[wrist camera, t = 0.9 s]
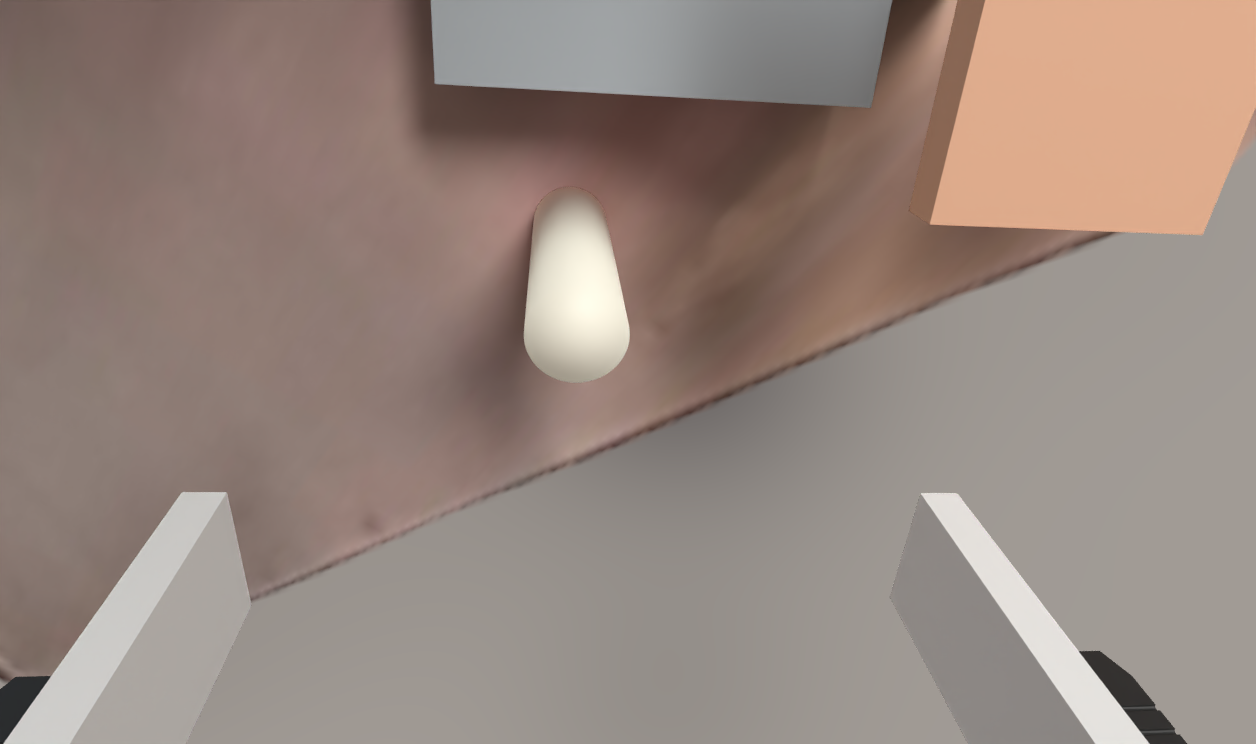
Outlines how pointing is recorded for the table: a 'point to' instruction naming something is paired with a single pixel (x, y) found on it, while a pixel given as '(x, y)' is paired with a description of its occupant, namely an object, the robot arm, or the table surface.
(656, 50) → the socket block
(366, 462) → the table surface
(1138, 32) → the wooden topped pedestal
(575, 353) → the peg
